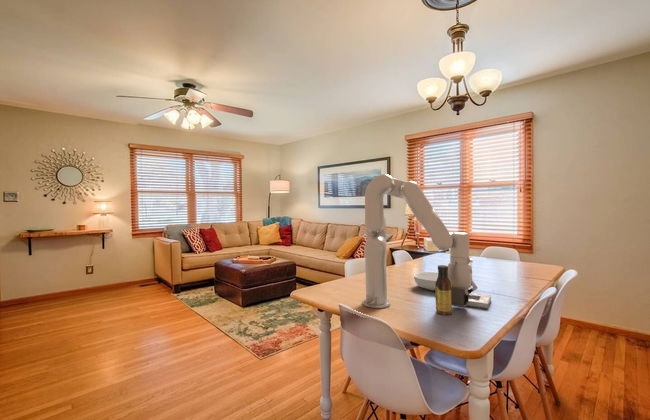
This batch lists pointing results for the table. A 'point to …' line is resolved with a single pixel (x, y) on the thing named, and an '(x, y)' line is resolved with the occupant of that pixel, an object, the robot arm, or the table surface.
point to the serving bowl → (426, 280)
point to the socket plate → (478, 301)
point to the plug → (458, 296)
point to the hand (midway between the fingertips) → (458, 301)
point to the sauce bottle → (443, 291)
